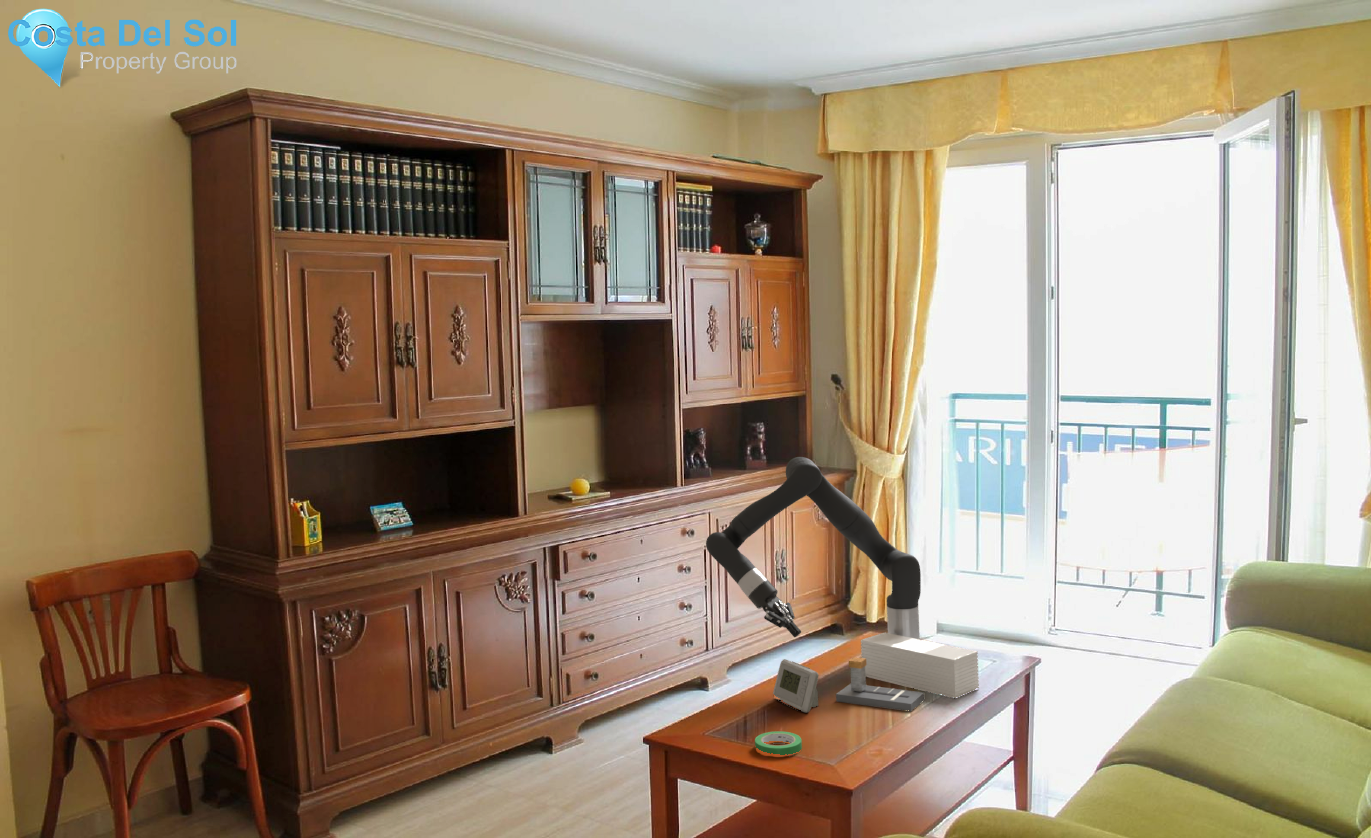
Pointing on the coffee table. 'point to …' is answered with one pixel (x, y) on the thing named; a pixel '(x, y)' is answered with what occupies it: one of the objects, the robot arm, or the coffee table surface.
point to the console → (881, 697)
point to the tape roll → (779, 736)
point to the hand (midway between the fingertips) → (798, 634)
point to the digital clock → (797, 685)
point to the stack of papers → (921, 664)
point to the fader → (858, 674)
